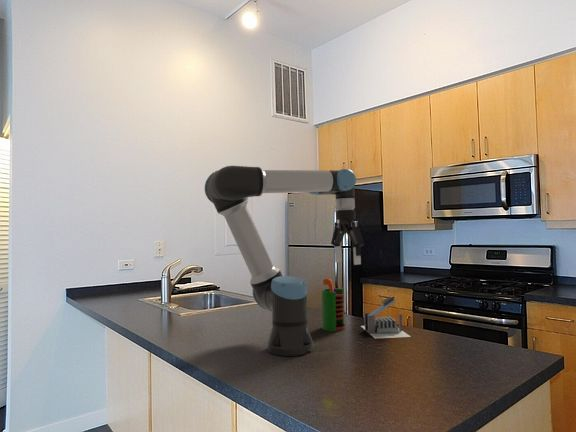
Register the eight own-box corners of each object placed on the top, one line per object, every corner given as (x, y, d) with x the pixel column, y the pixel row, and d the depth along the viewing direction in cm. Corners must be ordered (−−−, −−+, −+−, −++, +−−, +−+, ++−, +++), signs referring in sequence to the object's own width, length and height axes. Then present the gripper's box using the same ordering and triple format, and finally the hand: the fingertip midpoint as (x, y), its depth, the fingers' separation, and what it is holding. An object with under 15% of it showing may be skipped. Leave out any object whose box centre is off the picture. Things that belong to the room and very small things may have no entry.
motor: (344, 334, 153) (343, 280, 154) (320, 333, 155) (319, 280, 156) (346, 328, 163) (344, 277, 164) (323, 327, 165) (322, 277, 165)
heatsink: (398, 333, 149) (398, 320, 149) (377, 334, 148) (376, 321, 148) (391, 328, 157) (390, 316, 157) (370, 328, 156) (370, 317, 156)
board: (411, 339, 144) (411, 336, 144) (375, 341, 142) (375, 338, 142) (392, 326, 163) (392, 324, 163) (360, 328, 161) (360, 325, 161)
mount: (404, 331, 151) (403, 314, 151) (368, 333, 149) (368, 315, 150) (399, 328, 156) (398, 311, 156) (364, 330, 155) (364, 312, 155)
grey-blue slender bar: (395, 302, 152) (392, 297, 152) (370, 320, 151) (367, 315, 151) (392, 300, 155) (389, 296, 155) (367, 318, 154) (364, 313, 154)
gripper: (372, 207, 153) (374, 264, 152) (337, 211, 175) (339, 261, 175) (355, 207, 150) (357, 266, 149) (321, 211, 172) (323, 262, 172)
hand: (347, 263), depth 162 cm, fingers open, 13 cm apart
